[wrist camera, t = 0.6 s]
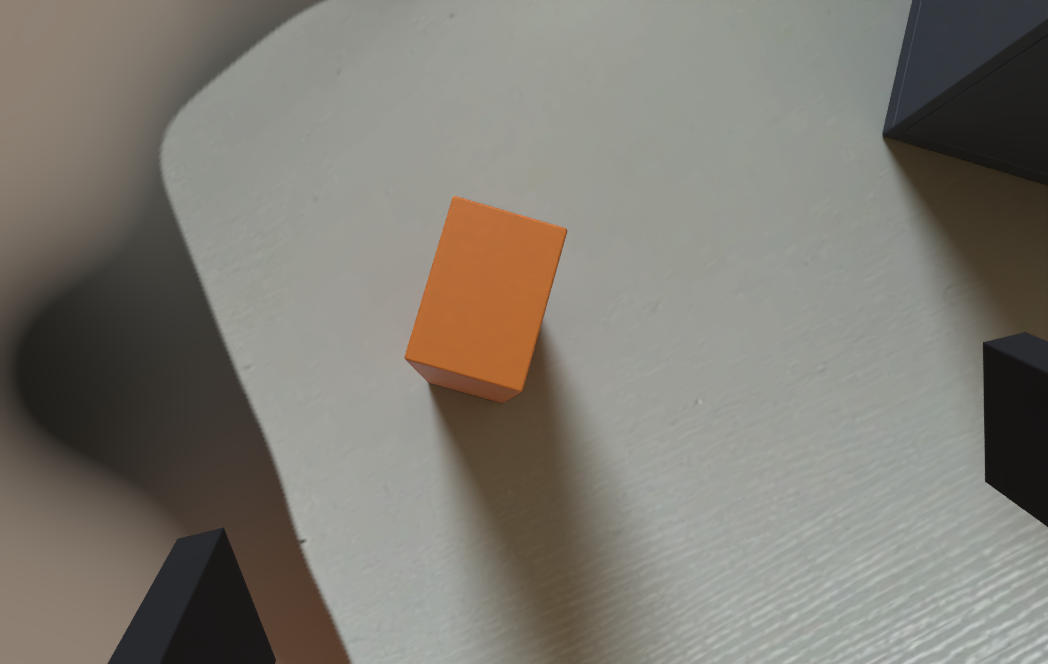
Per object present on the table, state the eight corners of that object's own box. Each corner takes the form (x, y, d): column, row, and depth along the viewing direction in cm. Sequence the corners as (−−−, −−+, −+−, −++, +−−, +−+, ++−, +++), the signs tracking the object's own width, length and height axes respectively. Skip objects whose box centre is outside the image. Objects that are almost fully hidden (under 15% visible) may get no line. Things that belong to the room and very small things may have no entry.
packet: (426, 381, 34) (403, 359, 22) (458, 274, 34) (453, 194, 23) (503, 403, 34) (522, 393, 22) (534, 295, 35) (568, 228, 23)
